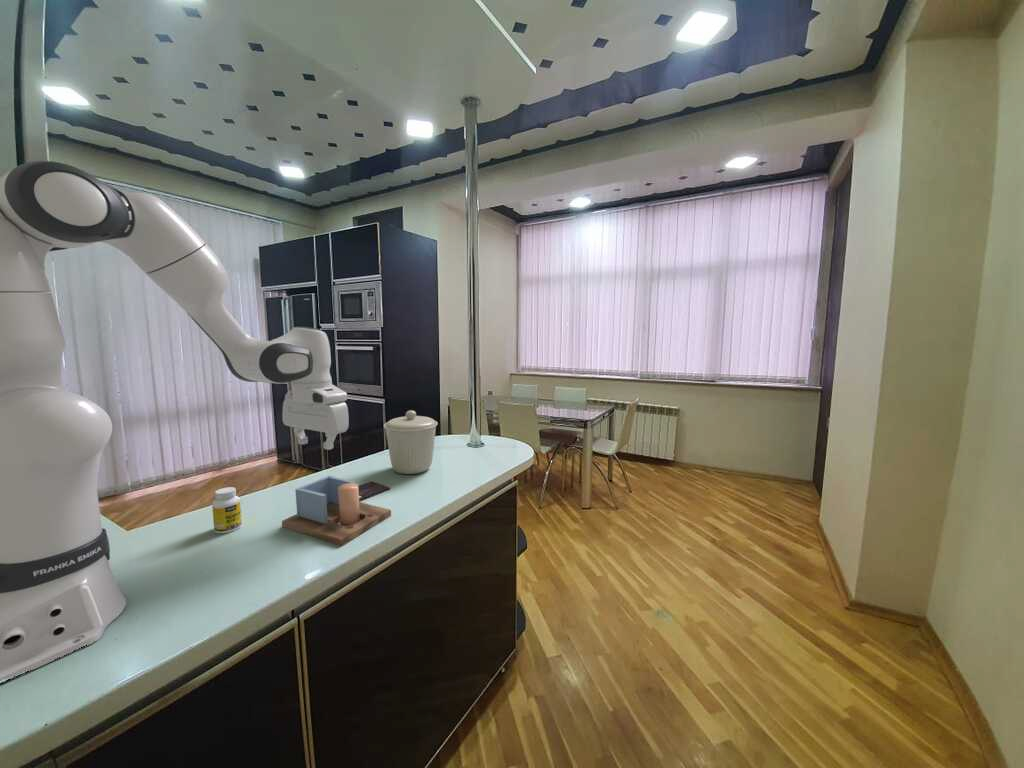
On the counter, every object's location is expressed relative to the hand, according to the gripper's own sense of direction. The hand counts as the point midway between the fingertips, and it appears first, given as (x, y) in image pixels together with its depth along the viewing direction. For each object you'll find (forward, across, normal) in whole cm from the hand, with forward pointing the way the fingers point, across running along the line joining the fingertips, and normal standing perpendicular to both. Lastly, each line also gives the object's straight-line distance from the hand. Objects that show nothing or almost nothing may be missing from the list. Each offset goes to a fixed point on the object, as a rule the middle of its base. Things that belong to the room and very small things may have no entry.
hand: (315, 446), depth 98 cm
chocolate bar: (+19, -2, +13) cm, 24 cm away
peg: (+19, +11, 0) cm, 22 cm away
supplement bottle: (+19, -14, -14) cm, 28 cm away
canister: (+19, -1, +38) cm, 43 cm away
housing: (+17, +3, 0) cm, 17 cm away
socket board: (+19, +7, 0) cm, 20 cm away
